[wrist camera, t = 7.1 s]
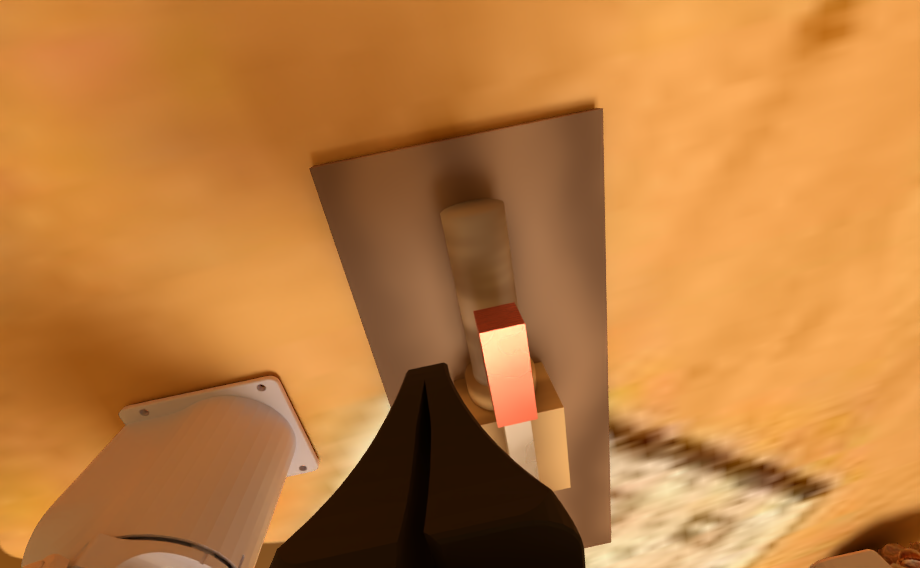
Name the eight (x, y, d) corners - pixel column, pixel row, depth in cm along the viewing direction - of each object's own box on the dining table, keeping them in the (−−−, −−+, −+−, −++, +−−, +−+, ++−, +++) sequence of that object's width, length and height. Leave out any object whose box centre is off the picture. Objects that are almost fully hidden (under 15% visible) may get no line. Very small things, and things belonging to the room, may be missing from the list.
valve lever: (537, 472, 22) (550, 509, 20) (506, 478, 22) (515, 517, 20) (511, 297, 17) (525, 323, 15) (471, 306, 17) (479, 333, 15)
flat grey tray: (448, 567, 33) (453, 637, 29) (313, 165, 19) (282, 184, 14) (606, 532, 33) (635, 596, 29) (595, 108, 19) (649, 108, 14)
